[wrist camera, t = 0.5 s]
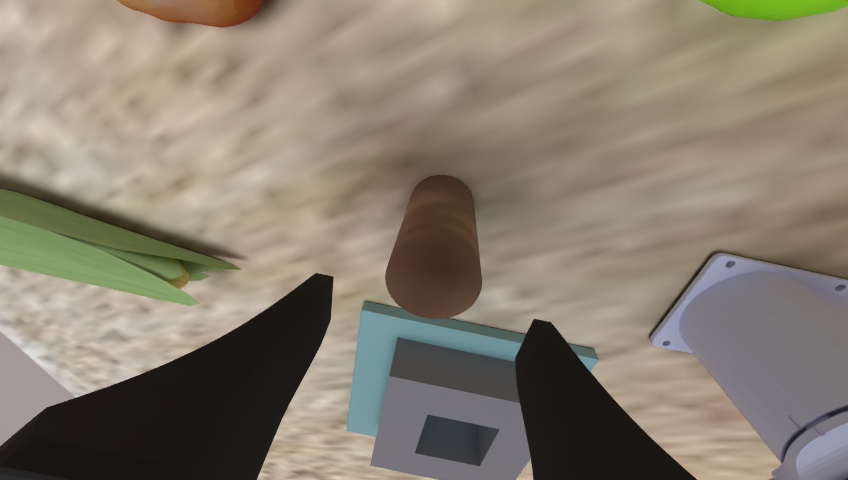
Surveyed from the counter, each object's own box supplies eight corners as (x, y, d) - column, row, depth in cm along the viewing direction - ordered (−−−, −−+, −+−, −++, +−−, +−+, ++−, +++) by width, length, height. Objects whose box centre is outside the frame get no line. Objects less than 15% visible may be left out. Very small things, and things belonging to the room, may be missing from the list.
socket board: (593, 349, 25) (619, 403, 21) (523, 456, 33) (532, 510, 29) (365, 301, 25) (347, 346, 21) (349, 420, 33) (334, 470, 29)
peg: (481, 182, 19) (494, 252, 13) (464, 239, 21) (467, 326, 14) (416, 168, 19) (392, 230, 12) (405, 226, 21) (380, 308, 14)
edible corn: (-142, 170, 18) (-138, 245, 19) (221, 276, 20) (208, 339, 21) (-22, 168, 23) (-23, 227, 24) (259, 253, 25) (247, 304, 26)
